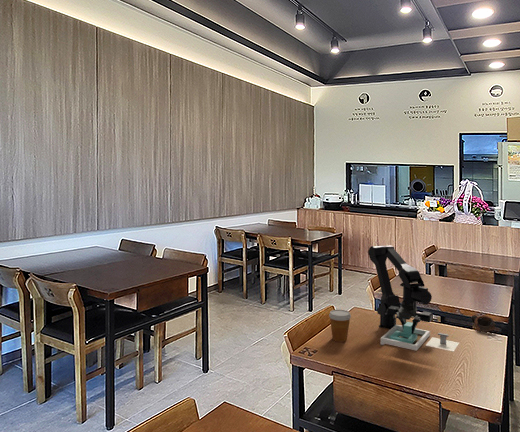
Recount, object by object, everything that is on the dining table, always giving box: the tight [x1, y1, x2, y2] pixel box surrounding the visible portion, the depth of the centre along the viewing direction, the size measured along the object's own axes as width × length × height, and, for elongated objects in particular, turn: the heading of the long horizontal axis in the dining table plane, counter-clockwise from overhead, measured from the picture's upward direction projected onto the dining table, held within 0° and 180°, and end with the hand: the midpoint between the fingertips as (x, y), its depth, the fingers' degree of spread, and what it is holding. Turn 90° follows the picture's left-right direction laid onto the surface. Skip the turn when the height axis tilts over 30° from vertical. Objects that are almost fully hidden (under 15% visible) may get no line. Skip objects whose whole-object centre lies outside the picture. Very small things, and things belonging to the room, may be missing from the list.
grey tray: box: [380, 324, 431, 352], centre depth 189 cm, size 15×20×3 cm
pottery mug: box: [470, 314, 496, 333], centre depth 201 cm, size 12×10×8 cm
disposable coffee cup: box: [328, 309, 352, 343], centre depth 192 cm, size 10×10×12 cm
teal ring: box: [390, 321, 418, 344], centre depth 189 cm, size 9×14×4 cm, turn 145°
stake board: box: [425, 332, 460, 353], centre depth 183 cm, size 11×11×5 cm
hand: (408, 332), depth 193 cm, fingers closed on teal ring, 3 cm apart
